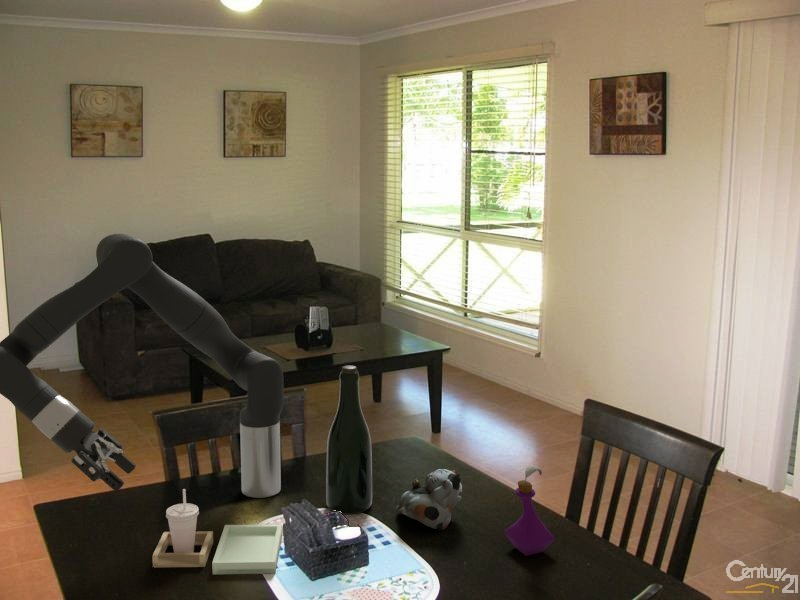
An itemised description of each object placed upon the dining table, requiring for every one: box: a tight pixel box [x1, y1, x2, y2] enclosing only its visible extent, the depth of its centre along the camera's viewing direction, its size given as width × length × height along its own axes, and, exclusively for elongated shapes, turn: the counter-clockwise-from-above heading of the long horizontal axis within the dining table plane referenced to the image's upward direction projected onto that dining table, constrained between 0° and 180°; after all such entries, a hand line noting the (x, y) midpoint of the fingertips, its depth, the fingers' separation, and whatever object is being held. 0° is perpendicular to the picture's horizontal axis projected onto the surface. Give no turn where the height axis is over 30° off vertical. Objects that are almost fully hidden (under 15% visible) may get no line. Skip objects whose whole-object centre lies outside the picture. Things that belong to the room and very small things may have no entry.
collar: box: [152, 530, 214, 568], centre depth 167 cm, size 10×10×2 cm
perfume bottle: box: [503, 464, 556, 557], centre depth 169 cm, size 8×8×18 cm
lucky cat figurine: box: [395, 468, 463, 531], centre depth 183 cm, size 15×12×14 cm
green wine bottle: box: [325, 364, 373, 515], centre depth 187 cm, size 10×10×33 cm
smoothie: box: [165, 488, 200, 553], centre depth 166 cm, size 6×6×14 cm
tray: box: [211, 524, 283, 575], centre depth 167 cm, size 16×12×2 cm
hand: (126, 478), depth 163 cm, fingers open, 8 cm apart
